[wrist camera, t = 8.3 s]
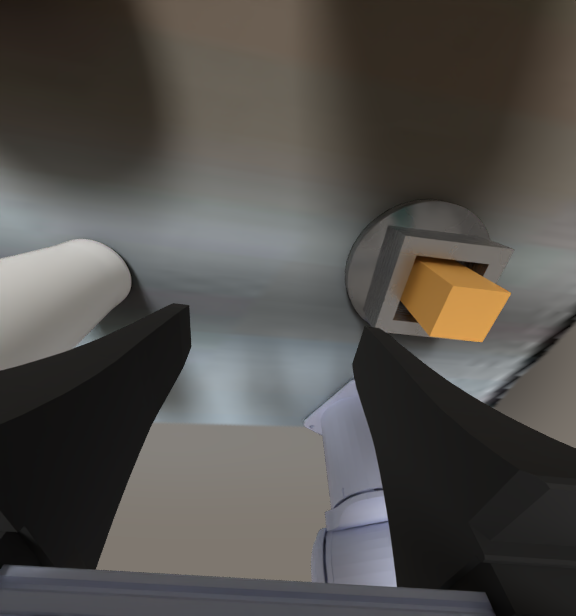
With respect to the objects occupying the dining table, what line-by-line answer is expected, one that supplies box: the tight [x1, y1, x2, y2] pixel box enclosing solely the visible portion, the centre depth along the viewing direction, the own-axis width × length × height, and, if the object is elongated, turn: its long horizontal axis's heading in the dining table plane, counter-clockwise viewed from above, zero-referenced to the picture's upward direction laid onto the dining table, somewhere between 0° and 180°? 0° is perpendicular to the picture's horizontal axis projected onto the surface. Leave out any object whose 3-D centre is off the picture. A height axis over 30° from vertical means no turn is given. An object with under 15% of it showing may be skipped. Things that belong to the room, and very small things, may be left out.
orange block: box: [400, 255, 511, 342], centre depth 16 cm, size 3×3×6 cm
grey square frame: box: [345, 199, 514, 341], centre depth 18 cm, size 10×10×4 cm
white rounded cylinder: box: [0, 239, 131, 371], centre depth 14 cm, size 7×7×15 cm
